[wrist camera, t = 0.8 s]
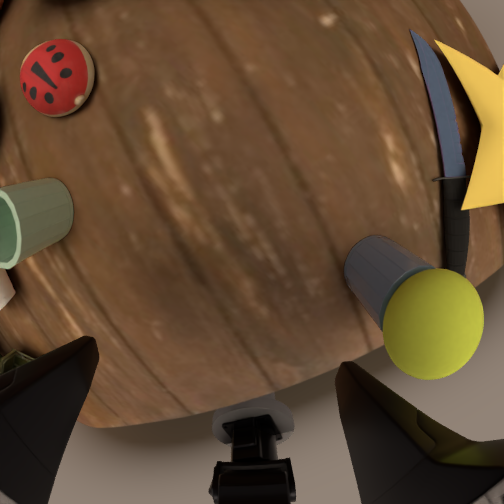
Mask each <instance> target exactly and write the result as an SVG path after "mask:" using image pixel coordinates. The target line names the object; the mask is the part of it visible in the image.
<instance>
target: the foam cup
mask: <svg viewBox="0 0 504 504" xmlns="http://www.w3.org/2000/svg"><path fill="white" fill-rule="evenodd" d="M14 294H15V290H14V289H13V285H12V283H11V281H10V279H9V277H8V275H7V272H6V270H5V269H3V268H0V310H1V309H2V308H3V307H4V306H5V305H6V304H7V303H8V302H9V301H10V299H11V298H12V297H13V296H14Z"/></svg>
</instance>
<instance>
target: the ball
mask: <svg viewBox="0 0 504 504" xmlns="http://www.w3.org/2000/svg"><path fill="white" fill-rule="evenodd" d="M483 325H484V313H483V307H482V303H481V300H480V297H479V295H478V293H477V291H476V290H475V288H474V287H473V285H472V284H471V283H470V282H469V281H468V280H467V279H466V278H464V277H463V276H462V275H460V274H458V273H456V272H454V271H451V270H447V269H438V268H437V269H428V270H424V271H422V272H419V273H417V274H415V275H413V276H411V277H410V278H408V279H407V280H406V281H405V282H403V283H402V284H401V285H400V286H399V288H398V289H397V290H396V291H395V293H394V294H393V296H392V297H391V299H390V301H389V303H388V305H387V308H386V311H385V315H384V320H383V338H384V344H385V347H386V350H387V352H388V354H389V356H390V358H391V360H392V361H393V362H394V364H395V365H396V366H397V367H398V368H399V369H400V370H402V371H403V372H404V373H407V374H408V375H410V376H412V377H415V378H418V379H424V380H433V379H439V378H443V377H446V376H448V375H450V374H452V373H454V372H456V371H457V370H459V369H460V368H461V367H462V366H463V365H464V364H465V363H467V361H468V360H469V359H470V358H471V357H472V355H473V354H474V352H475V350H476V349H477V347H478V344H479V342H480V339H481V336H482V331H483Z"/></svg>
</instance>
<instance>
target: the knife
mask: <svg viewBox="0 0 504 504" xmlns="http://www.w3.org/2000/svg"><path fill="white" fill-rule="evenodd" d="M410 32H411V34H412V37H413V39H414V42H415V45H416V48H417V51H418V54H419V58H420V63H421V69H422V72H423V75H424V79H425V82H426V86H427V90H428V94H429V98H430V102H431V105H432V110H433V114H434V118H435V123H436V127H437V132H438V138H439V143H440V149H441V155H442V162H443V170H444V177H441V178H435V179H433V181H437V180H441V179H443V184H444V215H445V216H444V223H445V239H446V256H447V270H451V271H454V272H456V273H458V274H460V275H462V276H463V277H464V278H466V275H465V266H466V260H467V253H468V243H469V225H470V216H469V209H466V210H461V209H462V206H463V203H464V199H465V196H466V193H467V188H466V178H469V177H471V176H466V170H465V163H464V159H463V156H462V154H461V153H462V148H461V144H460V135H459V133H458V126H457V122H456V121H455V120H456V115H455V111H454V107H453V103H452V99H451V95H450V91H449V88H448V85H447V81H446V78H445V75H444V72H443V69H442V66H441V64H440V62H439V60H438V58H437V56H436V55H435V53H434V52H433V50H432V49H431V47H430V46H429V45H428V44H427V43H426V41H425V40H424V39H422V38H421V37H420V36H419V35H417V34H416V33H415V32H413V31H412V30H410Z"/></svg>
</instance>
